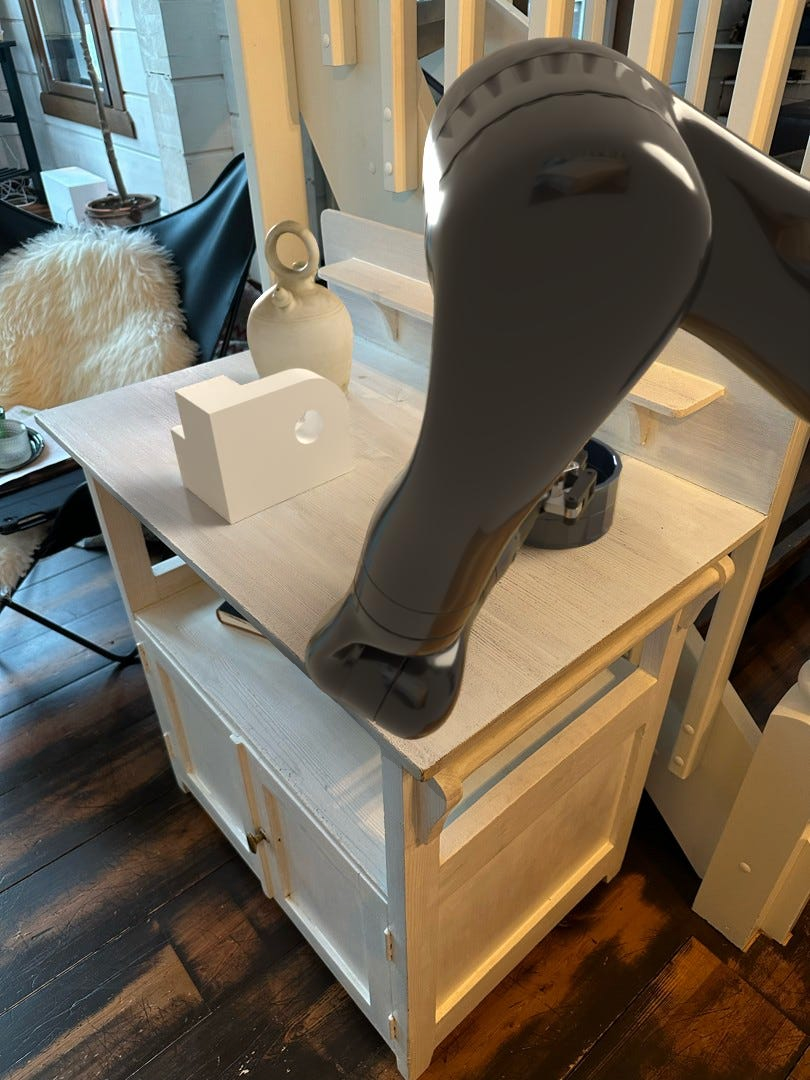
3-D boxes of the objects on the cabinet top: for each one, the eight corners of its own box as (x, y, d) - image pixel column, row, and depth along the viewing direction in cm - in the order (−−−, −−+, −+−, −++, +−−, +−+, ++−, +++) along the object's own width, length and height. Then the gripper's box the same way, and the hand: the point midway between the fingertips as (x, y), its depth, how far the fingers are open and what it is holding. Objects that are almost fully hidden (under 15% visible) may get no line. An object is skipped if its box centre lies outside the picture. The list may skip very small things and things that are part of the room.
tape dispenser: (231, 524, 88) (209, 414, 80) (183, 485, 95) (158, 380, 87) (354, 469, 97) (345, 365, 89) (301, 437, 104) (289, 338, 96)
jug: (297, 366, 124) (277, 203, 110) (376, 384, 118) (367, 214, 103) (235, 403, 114) (205, 228, 99) (319, 425, 107) (299, 242, 92)
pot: (635, 505, 89) (645, 453, 84) (572, 565, 80) (579, 510, 76) (530, 467, 96) (534, 417, 92) (463, 517, 88) (464, 465, 83)
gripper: (564, 514, 57) (614, 422, 69) (395, 476, 62) (468, 396, 74) (555, 591, 62) (603, 492, 73) (398, 549, 67) (466, 463, 79)
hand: (535, 444), depth 74 cm, fingers open, 8 cm apart
